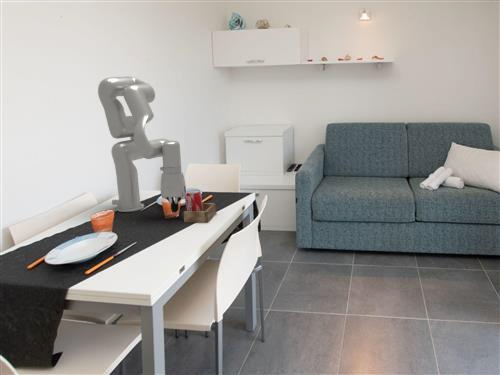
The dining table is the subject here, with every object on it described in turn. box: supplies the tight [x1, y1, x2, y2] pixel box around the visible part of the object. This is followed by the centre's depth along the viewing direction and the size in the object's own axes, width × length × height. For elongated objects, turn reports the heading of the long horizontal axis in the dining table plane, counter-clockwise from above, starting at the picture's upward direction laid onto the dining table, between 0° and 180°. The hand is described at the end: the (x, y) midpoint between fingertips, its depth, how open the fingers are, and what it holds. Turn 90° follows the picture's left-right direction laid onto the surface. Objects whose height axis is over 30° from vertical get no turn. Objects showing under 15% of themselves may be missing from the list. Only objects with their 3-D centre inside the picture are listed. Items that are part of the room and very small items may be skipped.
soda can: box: [184, 189, 203, 211], centre depth 213 cm, size 7×7×12 cm
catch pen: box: [183, 202, 217, 224], centre depth 216 cm, size 10×14×4 cm
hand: (175, 211), depth 218 cm, fingers closed
